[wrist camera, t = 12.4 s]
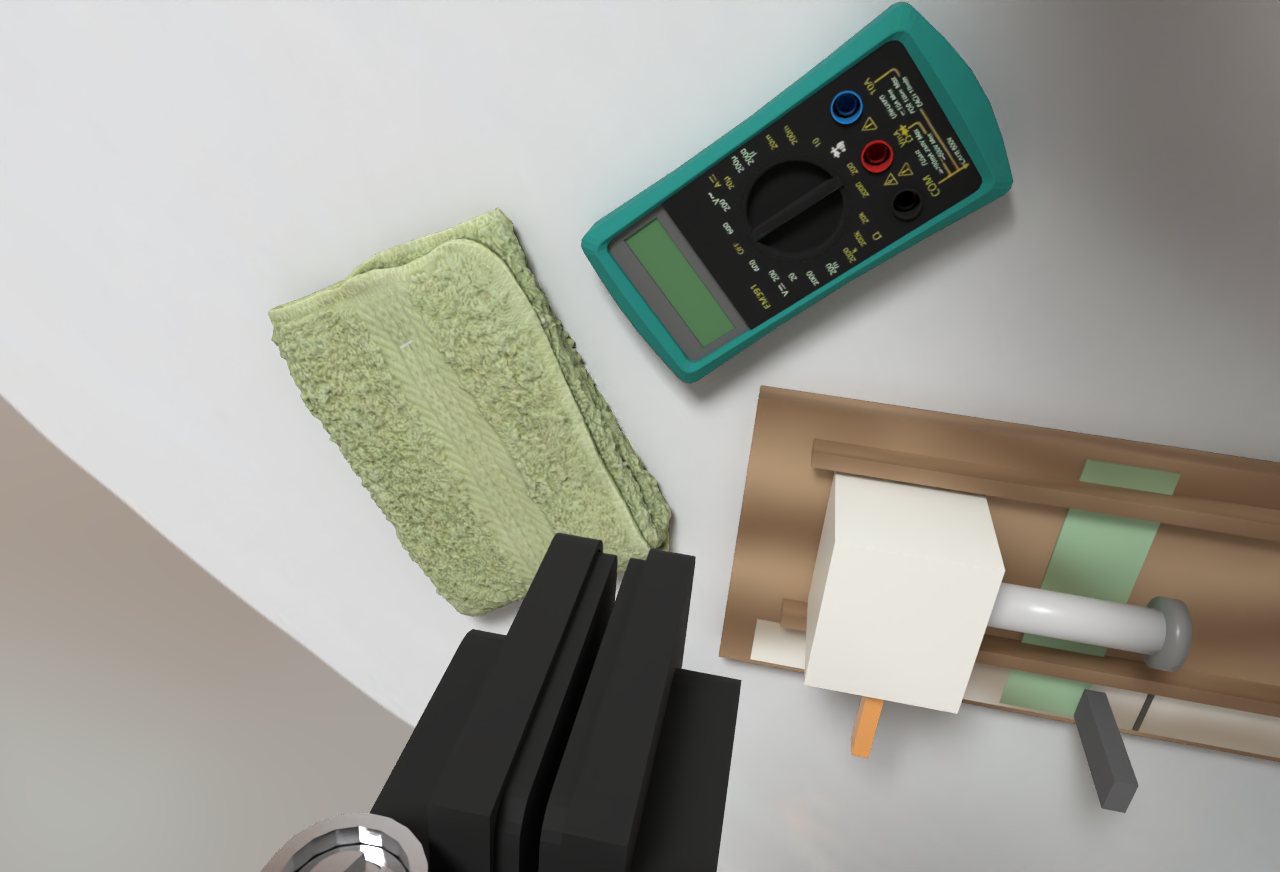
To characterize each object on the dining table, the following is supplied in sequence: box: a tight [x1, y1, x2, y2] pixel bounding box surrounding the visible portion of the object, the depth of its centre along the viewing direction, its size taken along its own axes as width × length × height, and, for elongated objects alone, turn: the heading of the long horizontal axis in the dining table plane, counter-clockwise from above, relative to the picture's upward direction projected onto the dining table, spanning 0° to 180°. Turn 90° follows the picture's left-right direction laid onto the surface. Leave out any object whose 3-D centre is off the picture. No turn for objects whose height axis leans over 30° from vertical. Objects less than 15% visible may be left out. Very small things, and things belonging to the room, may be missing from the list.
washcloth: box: [268, 208, 671, 616], centre depth 41 cm, size 13×18×3 cm
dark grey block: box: [1074, 689, 1138, 813], centre depth 39 cm, size 2×1×5 cm, turn 176°
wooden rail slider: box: [719, 386, 1280, 762], centre depth 37 cm, size 14×30×8 cm, turn 85°
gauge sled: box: [804, 471, 1192, 758], centre depth 38 cm, size 11×14×6 cm
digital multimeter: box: [581, 2, 1013, 383], centre depth 34 cm, size 7×15×3 cm, turn 127°
